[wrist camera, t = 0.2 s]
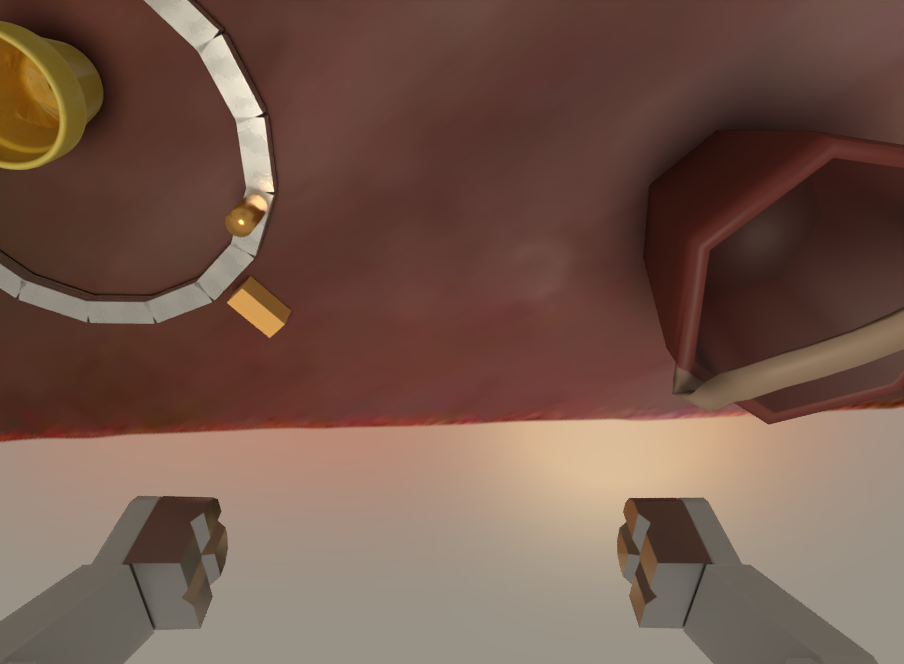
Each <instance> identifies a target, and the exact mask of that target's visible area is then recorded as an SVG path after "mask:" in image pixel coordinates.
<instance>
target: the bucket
mask: <svg viewBox="0 0 904 664" xmlns="http://www.w3.org/2000/svg"><path fill="white" fill-rule="evenodd" d="M644 261H645V265H646V269H647V273H648V277H649V281H650V285H651V289H652V293H653V297H654V300H655V304H656V308H657V312H658V316H659V320H660V324H661V328H662V332H663V336H664V340H665V344H666V347H667V349H668V351H669V352H670V354H671V356H672V357H673V359H674V360H675V362H676V364H675V371H674V379H673V394H674V395H676V396H678V397H680V398H682V399H684V400H686V401H688V402H690V403H692V404H694V405H696V406H698V407H700V408H703V409H705V410H707V411H709V412H710V411H713V410H716V409H719V408H721V407H723V406H726V405H728V404H730V403H732V402H734V403H735V404H737V405H739V406H740V407H742V408H743V409H745V410H747V411H748V412H750V413H751V414H753V415H754V416H756V417H758V418H759V419H761V420H762V421H764V422H765V423H767V424H773V423H777V422H781V421H785V420H789V419H793V418H797V417H801V416H805V415H809V414H813V413H817V412H821V411H825V410H829V409H833V408H838V407H842V406H846V405H850V404H854V403H858V402H862V401H866V400H870V399H874V398H878V397H882V396H886V395H890V394H894V393H898V392H899V391H900V390H901V389H902V388H903V387H904V145H900V144H894V143H887V142H880V141H873V140H867V139H860V138H853V137H847V136H840V135H833V134H826V133H820V132H813V131H715V132H714V133H713V134H712V135H710V136H709V137H708V138H707V139H706V140H704V141H703V142H702V143H701V144H700V145H698V146H697V147H696V148H695V149H693V150H692V151H691V152H690V153H689V154H687V155H686V156H685V157H684V158H683V159H681V160H680V161H679V162H678V163H676V164H675V165H674V166H673V167H672V168H670V169H669V170H668V171H667V172H665V173H664V174H663V175H662V176H661V177H659V178H658V179H657V180H656V181H655V182H653V183H652V184H651V185H650V186H649V195H648V208H647V220H646V232H645V245H644Z"/></svg>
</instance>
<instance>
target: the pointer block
mask: <svg viewBox="0 0 904 664" xmlns="http://www.w3.org/2000/svg"><path fill="white" fill-rule="evenodd" d="M227 303H228V304H229V305H230V306H231V307H233V308H234V309H235V310H236V311H237V312H239V313H240V314H241V315H242V316H244V317H245V318H246V319H247V320H249V321H250V322H251V323H252V324H253V325H255V326H256V327H257V328H258V329H260V330H261V331H262V332H263V333H264V334H266V335H267V336H268V337H269V338H270V337H271V336H272V335H273V334H275V333H276V332H277V331H278V330H279V329H280V328H281V327H282V326H283V325H285V323H286V321H287V319H288V317H289V315H290V313H291V310H290V309H289V308H287V307H286V306H285V305H284V304H283V303H282V302H280V301H279V300H278V299H277V298H276V297H275V296H273V295H272V294H271V293H270V292H269V291H268V290H266V289H265V288H264V287H263V286H262V285H261V284H259V283H258V282H257V281H256V280H255V279H254V278H252V277H251V276H250V277H249V278H248V279H247V280H246V281H245V282H244V283H243V284H242V285H241V286H240V287H239V288H237V289H236V291H235V292H234V293H233V295H232V296H231V298H230V299H229V301H228V302H227Z"/></svg>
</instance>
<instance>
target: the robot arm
mask: <svg viewBox="0 0 904 664" xmlns="http://www.w3.org/2000/svg"><path fill="white" fill-rule="evenodd" d="M623 513H624V516H625V519H626V523H625V524H624V525H622V526H621V527H620V529H619V534H618V540H617V552H618V559H619V565H620V568H621V571H622V574H623V576H624V578H626V579H627V580H628V581H629V582H630V583H631V584H632V587H631V591H630V595H629V597H630V600H631V603H632V606H633V609H634V612H635V615H636V619H637V621H638V625H639V627H645V628H683V629H684V630H683V631H684V632H685V633H686V634H687V635H688V636H689V638H691V640H692V641H693V642H694V643H695V644H696V645H697V646H698V647H699V648H700V649H701V650H702V652H703V653H704V654H705V655H706V656H707V657H708V658H709V659H710V660H711V661H712V662H713V663H714V664H878V663H877V661H876V660H875V658H874V657H873V656H872V655H871V654H869V653H868V652H867V651H865V650H864V649H863V648H861V647H860V646H858V645H857V644H856V643H855V642H853V641H852V640H851V639H849V638H848V637H846V636H845V635H844V634H843V633H841V632H840V631H839V630H837V629H836V628H834V627H833V626H832V625H830V624H829V623H828V622H826V621H825V620H824V619H822V618H821V617H820V616H818V615H817V614H816V613H814V612H813V611H812V610H810V609H809V608H807V607H806V606H805V605H803V604H802V603H801V602H799V601H798V600H797V599H795V598H794V597H793V596H791V595H790V594H788V593H787V592H786V591H785V590H783V589H782V588H780V587H779V586H778V585H777V584H775V583H774V582H773V581H771V580H770V579H768V578H767V577H766V576H764V575H763V574H762V573H760V572H759V571H758V570H756V569H755V568H754V567H752V566H751V565H742V563H741V561H740V559H739V557H738V556H737V554H736V552H735V550H734V548H733V547H732V545H731V543H730V541H729V539H728V537H727V535H726V533H725V532H724V530H723V528H722V526H721V524H720V522H719V521H718V519H717V517H716V515H715V513H714V511H713V510H712V508H711V506H710V504H709V502H708V501H707V500H706V499H704V498H678V499H677V498H629V499H628V500H627V502H626V503H625V507H624V511H623ZM220 514H221V508H220V505H219V501H218V499H216V498H210V497H174V496H163V497H156V496H137V497H136V498H135V499H133V500H132V501H131V502H130V503H129V505H128V506H127V508H126V510H125V511H124V513H123V514H122V516H121V518H120V519H119V521H118V522H117V524H116V526H115V527H114V529H113V531H112V532H111V534H110V535H109V537H108V539H107V540H106V542H105V543H104V545H103V546H102V548H101V550H100V551H99V553H98V555H97V556H96V558H95V559H94V561H93V563H92V564H91V565H82V566H81V567H80V568H78V569H76V570H75V571H73V572H72V573H71V574H69V575H68V576H66V577H65V578H63V579H62V580H60V581H59V582H57V583H56V584H54V585H53V586H52V587H50V588H49V589H47V590H46V591H44V592H43V593H41V594H40V595H38V596H37V597H36V598H34V599H32V600H31V601H29V602H28V603H27V604H25V605H24V606H22V607H21V608H19V609H18V610H16V611H15V612H13V613H12V614H10V615H9V616H7V617H6V618H5V619H3V620H2V621H0V664H124V663H125V662H126V661H127V660H128V658H130V657H131V655H132V654H134V653H135V652H136V650H138V649H139V648H140V646H141V645H143V644H144V643H145V641H147V640H148V639H149V637H150V636H151V635H152V634H153V633H154V630H168V629H199V628H201V625H202V623H203V620H204V618H205V615H206V613H207V610H208V607H209V605H210V602H211V600H212V597H213V596H212V592H211V589H210V585H211V584H212V583H213V582H214V581H215V580H217V579H218V578H219V577H220V576H221V573H222V571H223V568H224V565H225V561H226V555H227V550H228V542H227V541H228V540H227V532H226V529H225V527H224V526H223V525H222V524H221V523H220V522H218V518H219V516H220Z"/></svg>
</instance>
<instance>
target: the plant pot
mask: <svg viewBox="0 0 904 664" xmlns="http://www.w3.org/2000/svg"><path fill="white" fill-rule="evenodd" d="M102 102H103V86H102V82H101V78H100V76H99V74H98V72H97V70H96V68H95V67H94V65H93V64H92V63H91V61H90V60H89V59H88V58H87V57H86V56H85V55H84V54H83V53H82V52H80V51H79V50H78V49H76V48H75V47H73V46H71V45H69V44H67V43H64V42H61V41H57V40H52V39H47V38H43V37H40V36H38V35H36V34H35V33H33V32H31V31H29V30H27V29H25V28H23V27H21V26H18V25H15V24H12V23H8V22H4V21H0V167H1V168H6V169H13V170H24V169H32V168H36V167H39V166H41V165H44V164H46V163H49V162H51V161H53V160H55V159H57V158H59V157H61V156H63V155H65V154H66V153H68V152H69V151H70V150H72V149H73V148H74V147H75V146H76V145H77V143H78V142H79V141H80V139H81V137H82V135H83V132H84V130H85V126H86V124H87V123H88V122H89V121H90V120H91V119H92V118H93V117H94V116H95V115H96V114H97V113H98V111H99V110H100V108H101V105H102Z"/></svg>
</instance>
